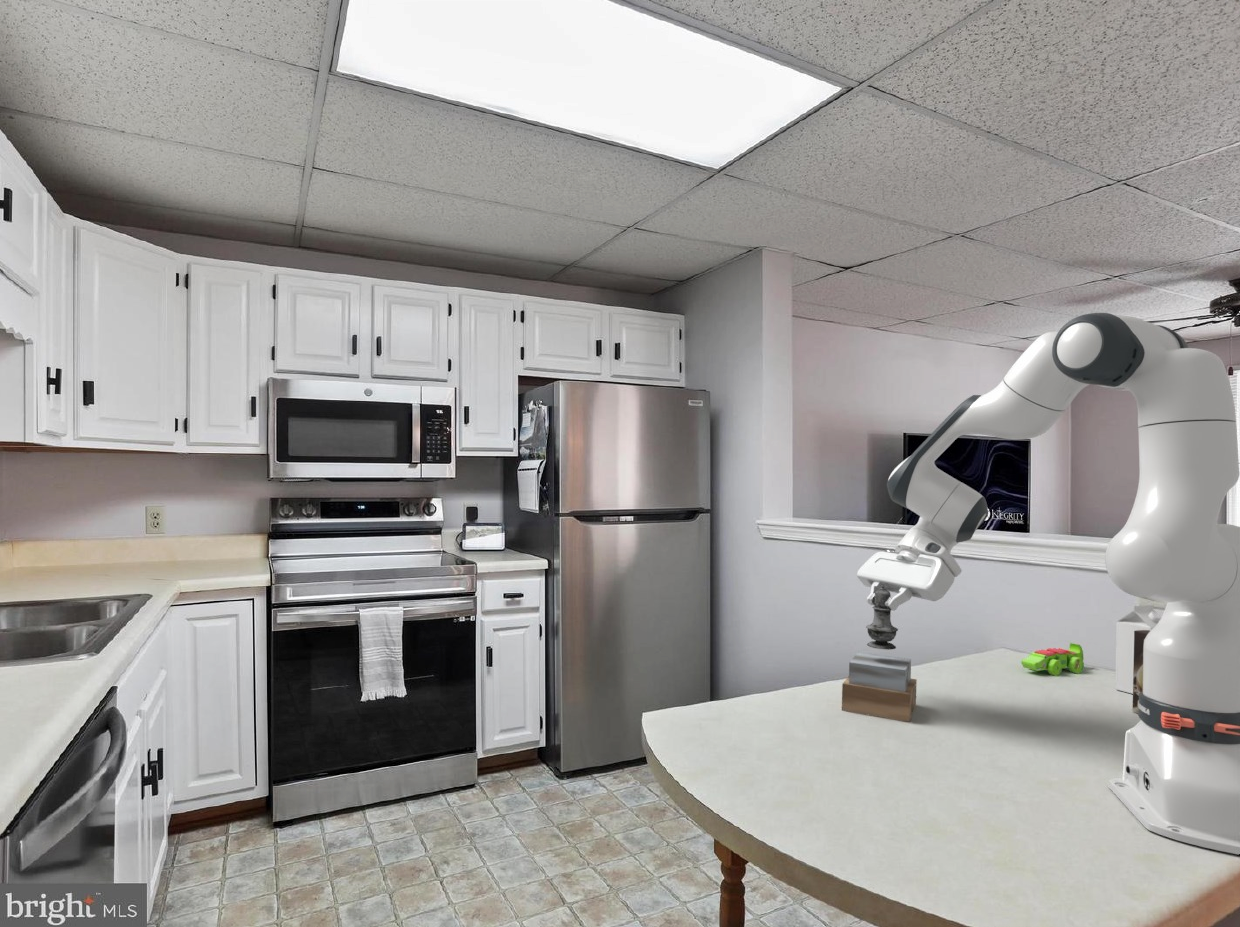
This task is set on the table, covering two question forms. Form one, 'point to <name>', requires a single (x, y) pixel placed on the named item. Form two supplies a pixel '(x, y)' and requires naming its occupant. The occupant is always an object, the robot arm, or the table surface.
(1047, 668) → the toy crocodile
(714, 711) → the table surface
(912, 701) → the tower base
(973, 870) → the table surface
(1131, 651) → the milk carton
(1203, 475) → the robot arm
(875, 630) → the salt shaker
